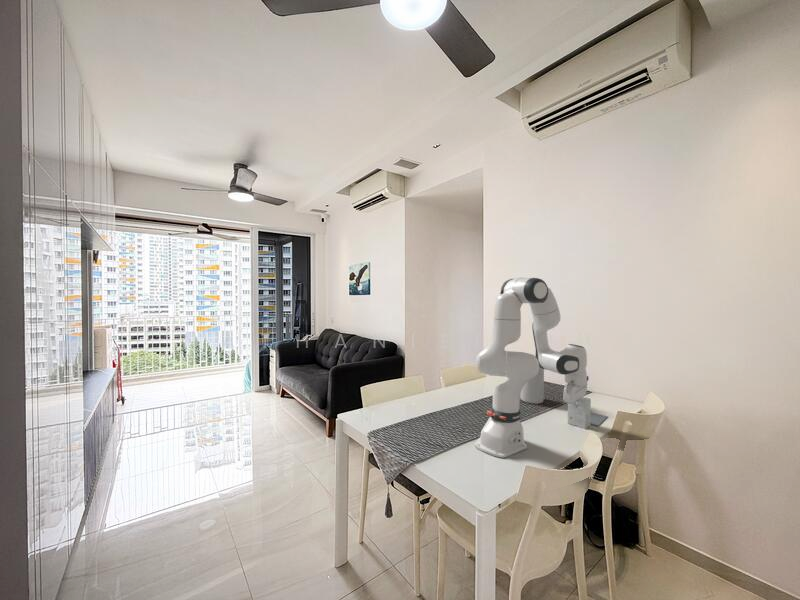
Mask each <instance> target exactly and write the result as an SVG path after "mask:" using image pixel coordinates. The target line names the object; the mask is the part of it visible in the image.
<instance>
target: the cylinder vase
mask: <svg viewBox="0 0 800 600" xmlns="http://www.w3.org/2000/svg"><path fill="white" fill-rule="evenodd" d="M544 383H545V369H542V368H540V367H539V371H538V373H537V375H536V376H535V377H533V378H532V379H530V380H529V381H528V382H527V383H526V384H525V385H524V386H523V388H522V391H521V394H520V401H523V402H525V403H527V404H533V405H540V404H542V403H543V402H544V400H545V399H544V395H545V393H544V392H545V391H544V389H545V388H544V387H545V384H544Z"/></svg>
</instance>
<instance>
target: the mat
mask: <svg viewBox="0 0 800 600" xmlns="http://www.w3.org/2000/svg"><path fill="white" fill-rule="evenodd" d="M607 418H608V416H607V415H604V414H600V413H597V412H596V413H595V412H592V411H590V426H595V427H599V426H600V425H601V424H603V422H604V421H605V420H606V419H607Z"/></svg>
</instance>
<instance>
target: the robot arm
mask: <svg viewBox="0 0 800 600" xmlns="http://www.w3.org/2000/svg"><path fill="white" fill-rule="evenodd" d="M494 303H495V304H494V307H493V308H494V309H493V326H492V328H493V329H492V334H491V339H490V341H489V343H488V345H487V346H486V347H485V348H484V349H482V350H481V351H479V352H478V353H477V354H476V358H475V366H476V370H477V371H478V372H479V373H481V374H483V375H486V376H487V375H488V376H494V377H502V378H507V380H506V381H505V382H503V383H499V384H497V385H496V386H495V387H494V388H493V390H492V406H491V409H490V410H487V412H486V416H488V417H489V418H488V419H487V421H486V423H485V424H484V426H483V428H482V429H481V432H480V437H479V438H477V440H476V441H475V442H474V445H473V446H475V448H477V449H478V450H479V451H481V452H483V453H485V454H488V455H491V456H493V457H497V458H501V459H502V458H507V457H510V456H512V455H514V454H517V453H518V452H521V451H523V450H527V448H528V445H527V444H526V442H525V438H524V437H525V434H524V426H523V425H522V424H523V423H522V422H521V417H522V415H521V414H522V413H521V409H520V405H521V403H520V401H521V398H520V394H521V391H522V388H523V386H524V385H525V384H526V383H527V382H528V381H529V380H530V379H532V378H533V377H535V376H536V375H537V373H538V371H539V367H540V368H542V369H544V370H546V371H550V372H554V373H557V374H560V375H564V382H565V383H566V384H565V386H564V388H563V395H562V396H563V397H562V401H563V402H564V403H565V404H568V403H569V404H572V408H573V409H576V408H577V407H578V403H579V398H581V397H584V396H585V395H586V394H587V390H588V382H589V381H590V379H589V378H590V376H589V375H587V370H586V368H587V366H588V355H587V350H586V348H585V347H584V346H582V345H577V344H573V343H569V344H567V345H566V347H565V348H564V349H562V350H560V351H557V350H553V349H552V348H551V347H550V345H549V339H548V338H549V337H548V331H549V330H553V329H554V328H555V327H558V325H559V323H560V322H561V313H560V308H559V306H558V302H557V300H556V296H555V295H554V293H553V291H552V289H551V288H550V287H548V284H547V283H546V282H545V280H543V279H541V278H538V277H518V278H517V277H516V278H509V279H507V280H505V281H504V282H503V284H502V285H501V288H500V293H499V295H497V297H496V299H495V302H494ZM523 304H529V306H530V310H531V314H532V318H533V322H532V324H531V326H532V327H531V329H532V336H533V341H534V347H535V355H534V354H531V353H528V352H524V351H514V350H513V351H510V350H505V348H506V347H507V346H508V345H511V344H514V343H515V342H518V340H519V339H520V337H521V333H522V331H521V329H522V327H521V325H522V324H521V323H522V322H521V321H522V315H521V313H522V311H521V307H522V305H523Z"/></svg>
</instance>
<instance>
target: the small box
mask: <svg viewBox="0 0 800 600" xmlns="http://www.w3.org/2000/svg"><path fill="white" fill-rule="evenodd" d="M591 403H592V401H591V398H588V397H584V396H582V397H581V398H579V403H578V407H577V408H576V409H573V408H572V404H569V403H567V424H570V425H572V426H575V427H578V428H581V429H587V428H589V426H591V424H590V412H592V411H591Z"/></svg>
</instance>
